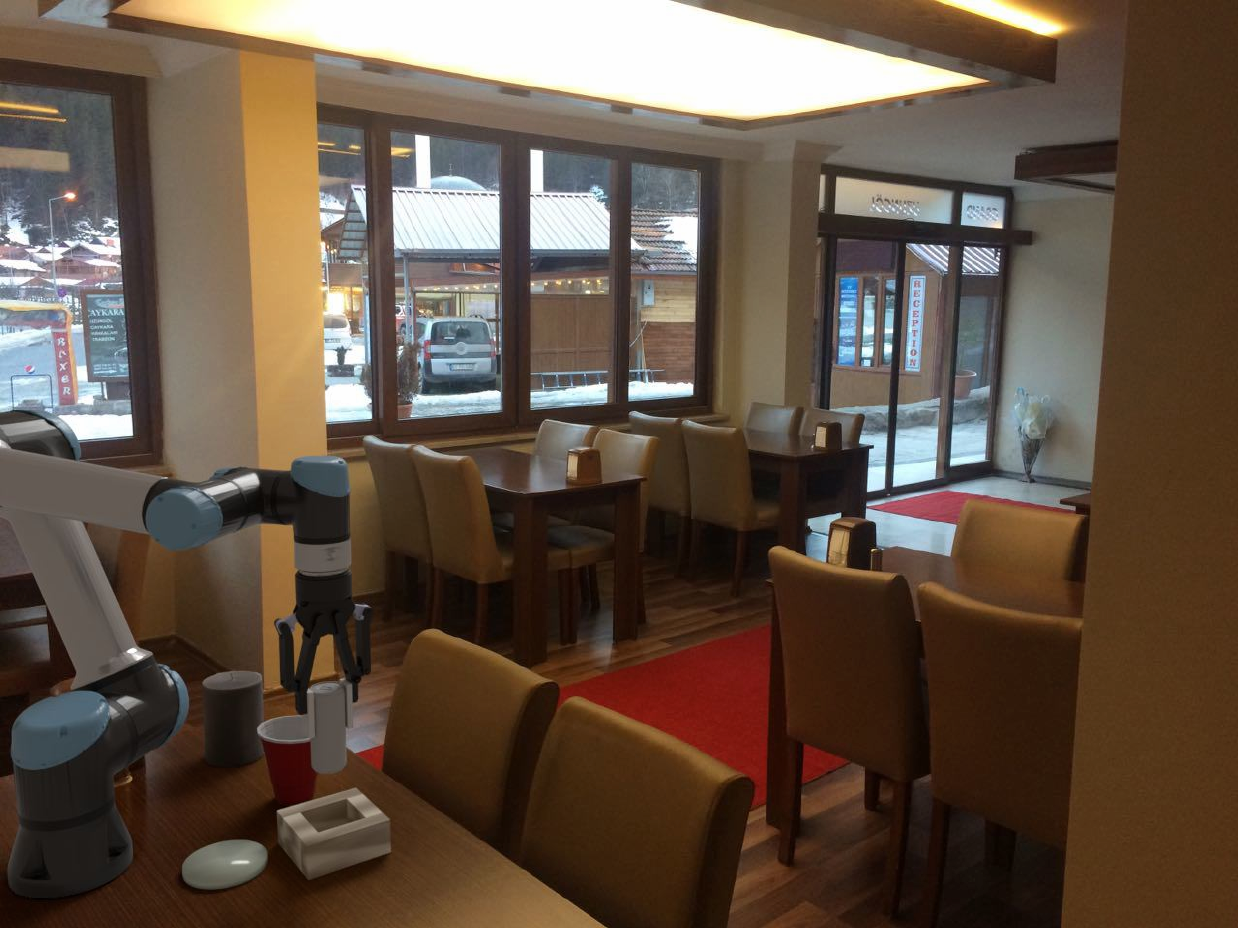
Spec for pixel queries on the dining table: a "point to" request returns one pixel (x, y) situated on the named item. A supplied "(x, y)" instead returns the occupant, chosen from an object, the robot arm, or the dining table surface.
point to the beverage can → (329, 728)
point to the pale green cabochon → (224, 864)
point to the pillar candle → (232, 718)
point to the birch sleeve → (333, 832)
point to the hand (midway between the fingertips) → (328, 729)
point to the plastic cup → (288, 759)
